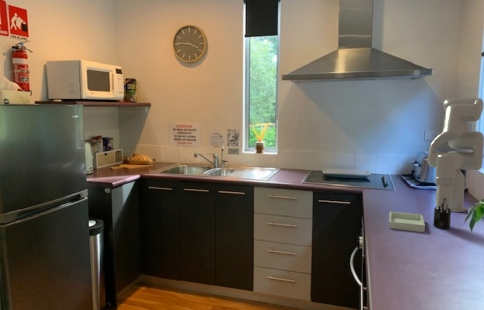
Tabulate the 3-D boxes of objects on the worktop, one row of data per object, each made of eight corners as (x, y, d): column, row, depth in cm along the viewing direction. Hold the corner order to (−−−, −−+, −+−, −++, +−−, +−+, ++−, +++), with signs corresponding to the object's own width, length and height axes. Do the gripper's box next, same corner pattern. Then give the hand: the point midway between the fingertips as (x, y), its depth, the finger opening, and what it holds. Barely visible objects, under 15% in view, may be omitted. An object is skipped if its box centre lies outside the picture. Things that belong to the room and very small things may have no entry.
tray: (389, 217, 182) (389, 211, 182) (421, 220, 176) (422, 214, 176) (388, 228, 166) (389, 221, 165) (424, 232, 160) (424, 225, 160)
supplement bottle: (434, 223, 172) (436, 199, 170) (451, 226, 168) (453, 201, 166) (431, 227, 167) (433, 201, 165) (448, 230, 162) (450, 204, 161)
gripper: (433, 177, 174) (431, 212, 176) (437, 184, 158) (434, 222, 160) (451, 179, 171) (448, 214, 173) (457, 185, 155) (454, 224, 157)
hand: (442, 218), depth 166 cm, fingers open, 9 cm apart
